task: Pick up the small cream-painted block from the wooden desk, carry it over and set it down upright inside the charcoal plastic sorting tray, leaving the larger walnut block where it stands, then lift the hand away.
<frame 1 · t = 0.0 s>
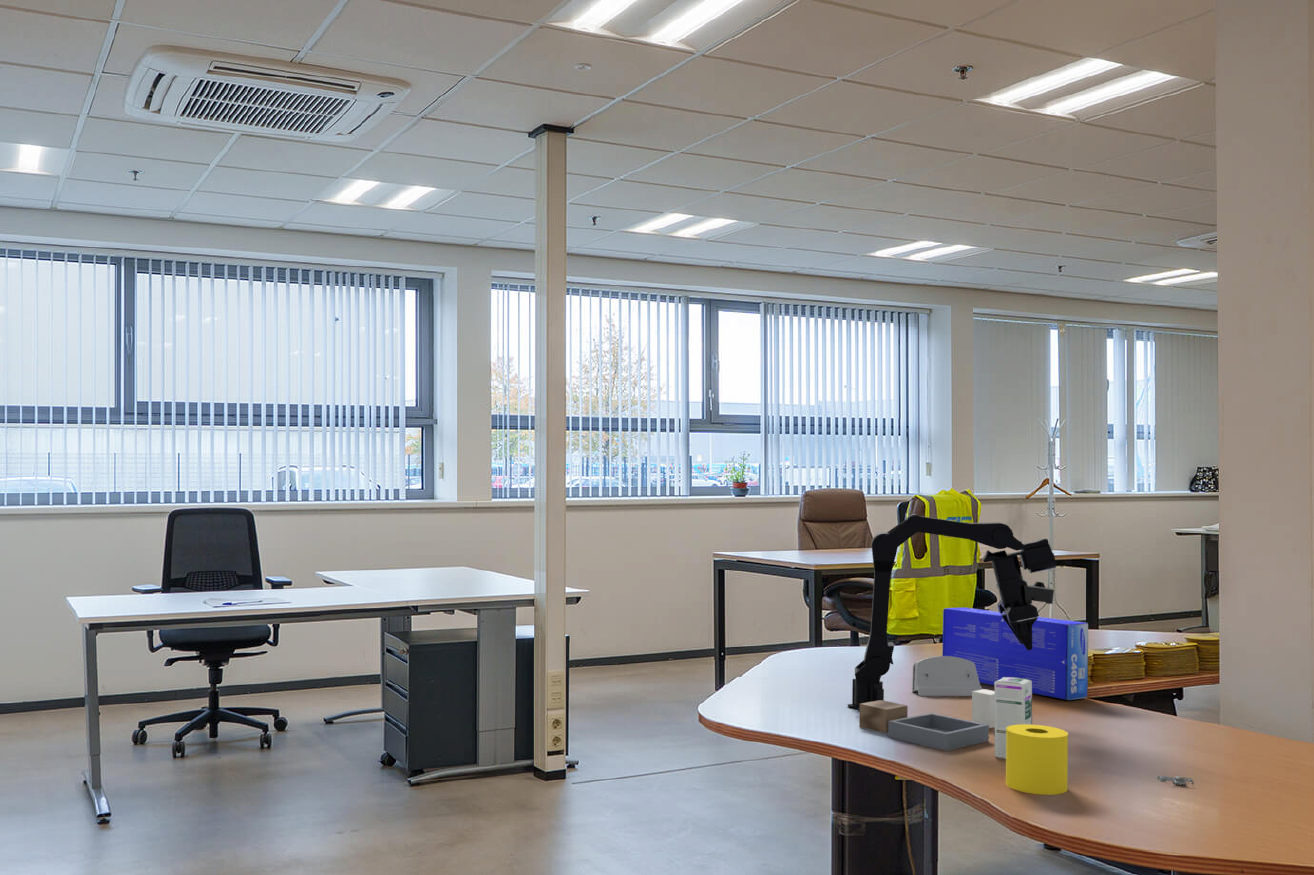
hand: (1026, 646, 249), 15 cm above the table, tool pointing down, fingers open, 9 cm apart
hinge: (945, 694, 276), on the table
yellow paper roll: (1036, 787, 192), on the table
grey flat piece: (1157, 781, 199), on the table
toner cartridge box: (1011, 688, 285), on the table
oversize block: (883, 728, 235), on the table
sorting tray: (938, 739, 226), on the table
small block: (986, 724, 240), on the table
syrup box: (1013, 757, 213), on the table
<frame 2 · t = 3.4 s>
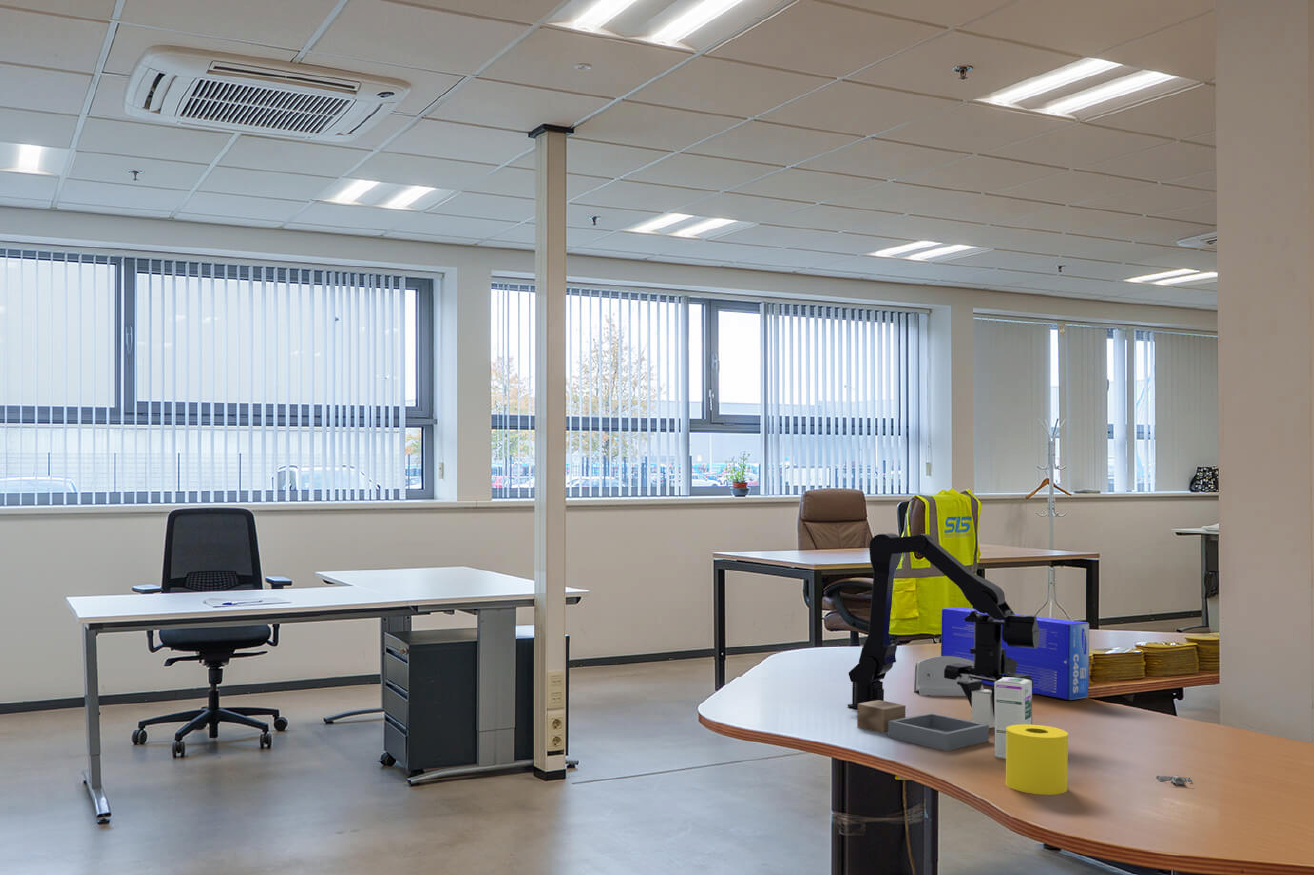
hand: (986, 717, 240), 2 cm above the table, tool pointing down, fingers closed on small block, 4 cm apart
small block: (986, 724, 240), on the table, touching gripper
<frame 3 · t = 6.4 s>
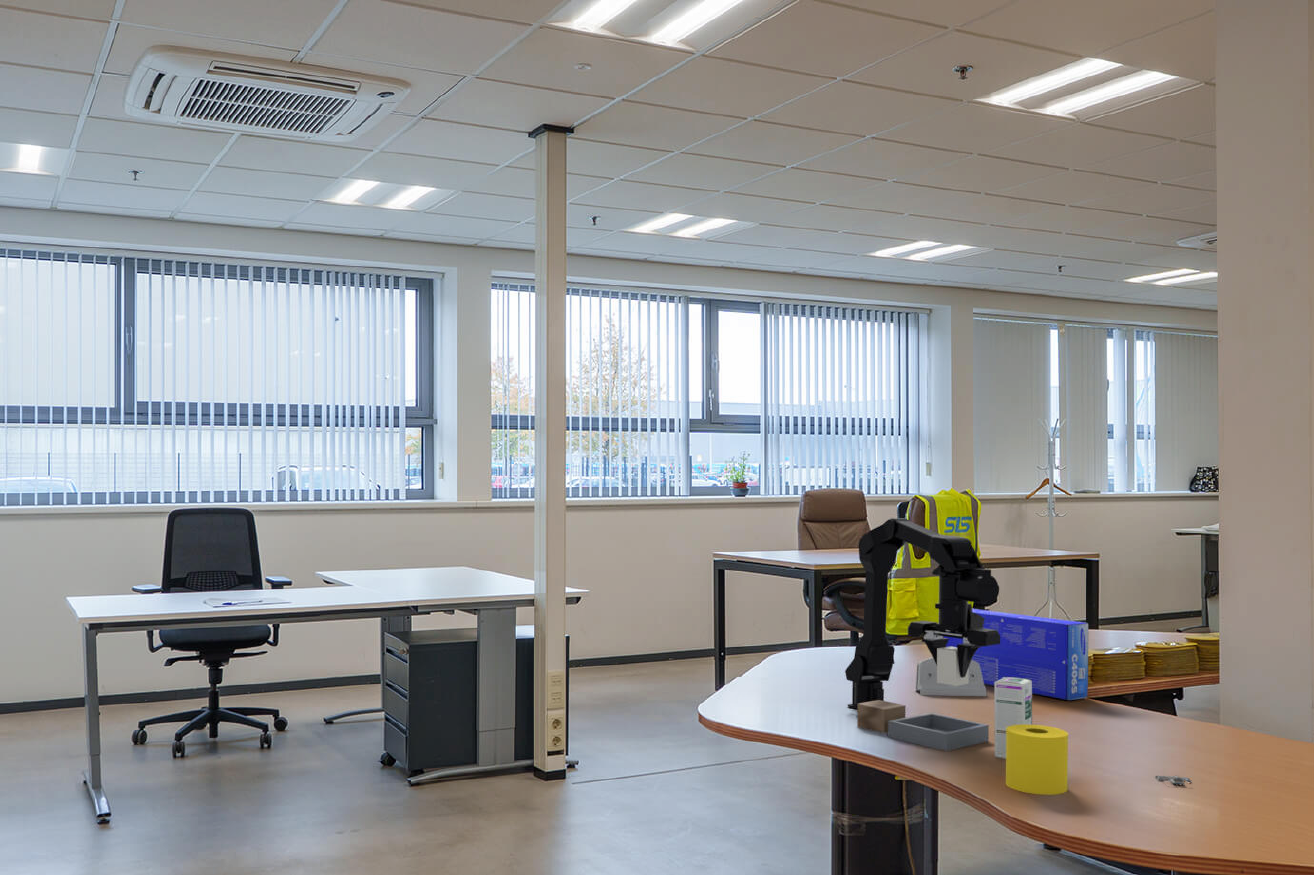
hand: (952, 675, 230), 12 cm above the table, tool pointing down, fingers closed on small block, 4 cm apart
small block: (952, 683, 230), point 11 cm above the table, touching gripper
when the fingers open (4 cm above the table, at t = 9.5 s): small block drops 1 cm, resting on sorting tray.
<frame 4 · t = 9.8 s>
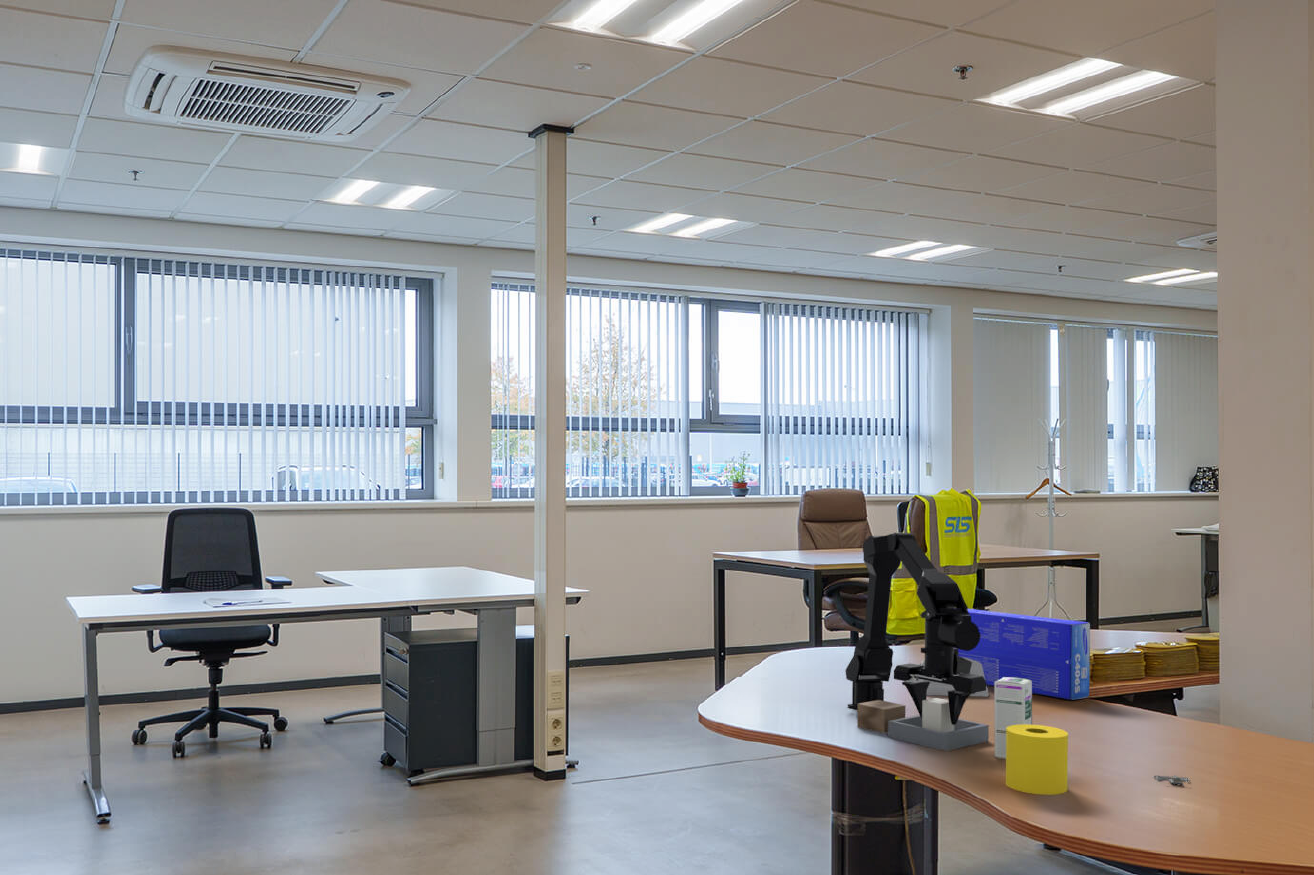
hand: (938, 721, 226), 4 cm above the table, tool pointing down, fingers open, 7 cm apart
small block: (938, 735, 226), point 1 cm above the table, touching sorting tray
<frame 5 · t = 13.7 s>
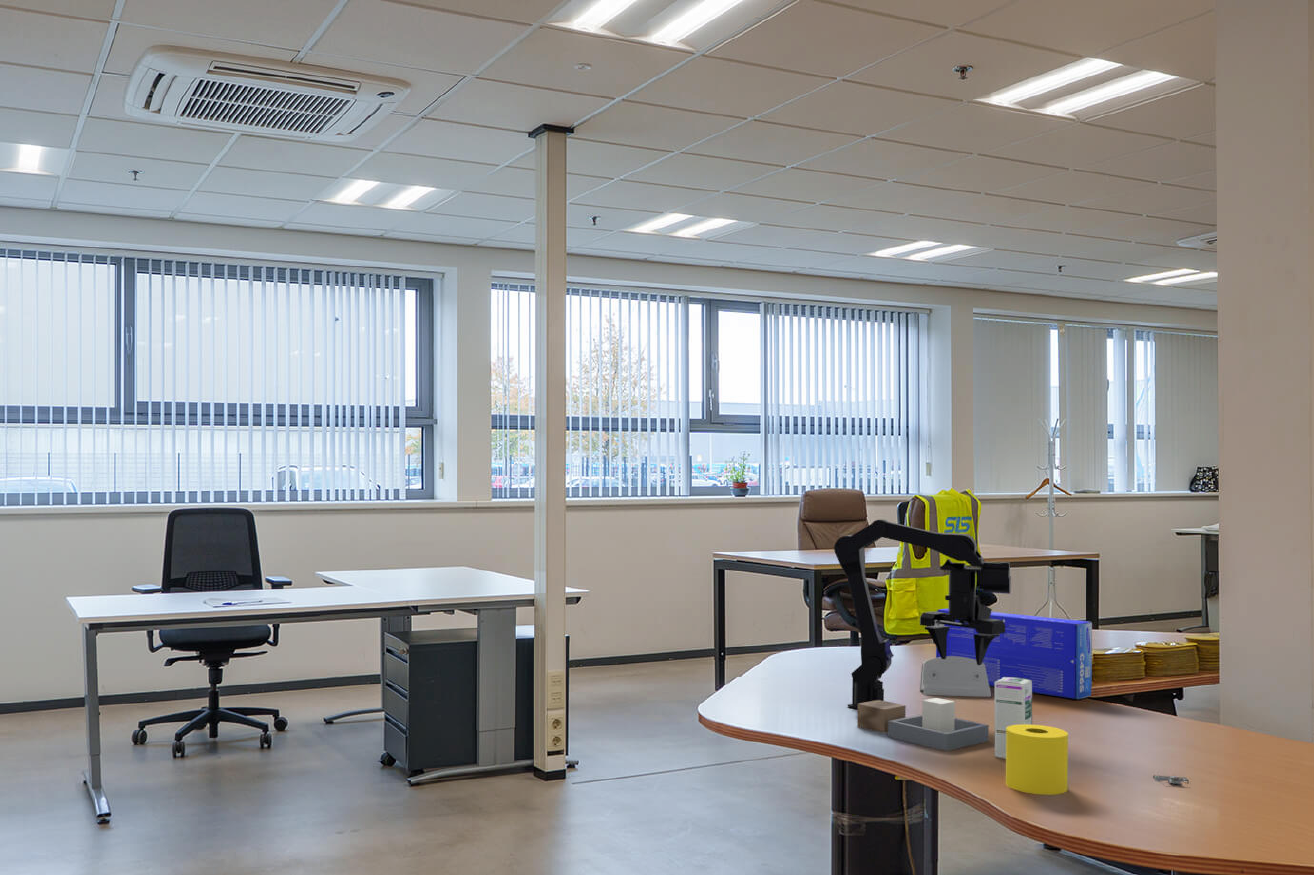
hand: (961, 662, 248), 12 cm above the table, tool pointing down, fingers open, 9 cm apart
at the end: small block inside the target area on the sorting tray (0.0 cm from its centre), point 0.6 cm above the sorting tray's base; small block tilted 0°; the gripper is holding nothing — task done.
